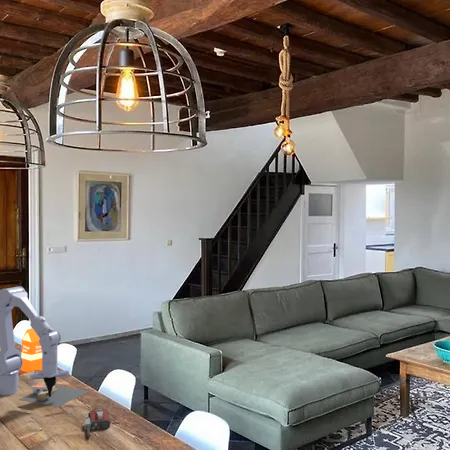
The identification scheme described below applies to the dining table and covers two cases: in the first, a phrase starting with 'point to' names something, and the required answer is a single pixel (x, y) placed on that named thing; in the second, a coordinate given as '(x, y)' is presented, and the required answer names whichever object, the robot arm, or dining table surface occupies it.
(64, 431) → the dining table surface
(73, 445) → the dining table surface
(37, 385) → the block
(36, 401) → the board
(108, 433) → the dining table surface
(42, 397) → the link
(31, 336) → the orange juice
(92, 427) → the walkie-talkie
